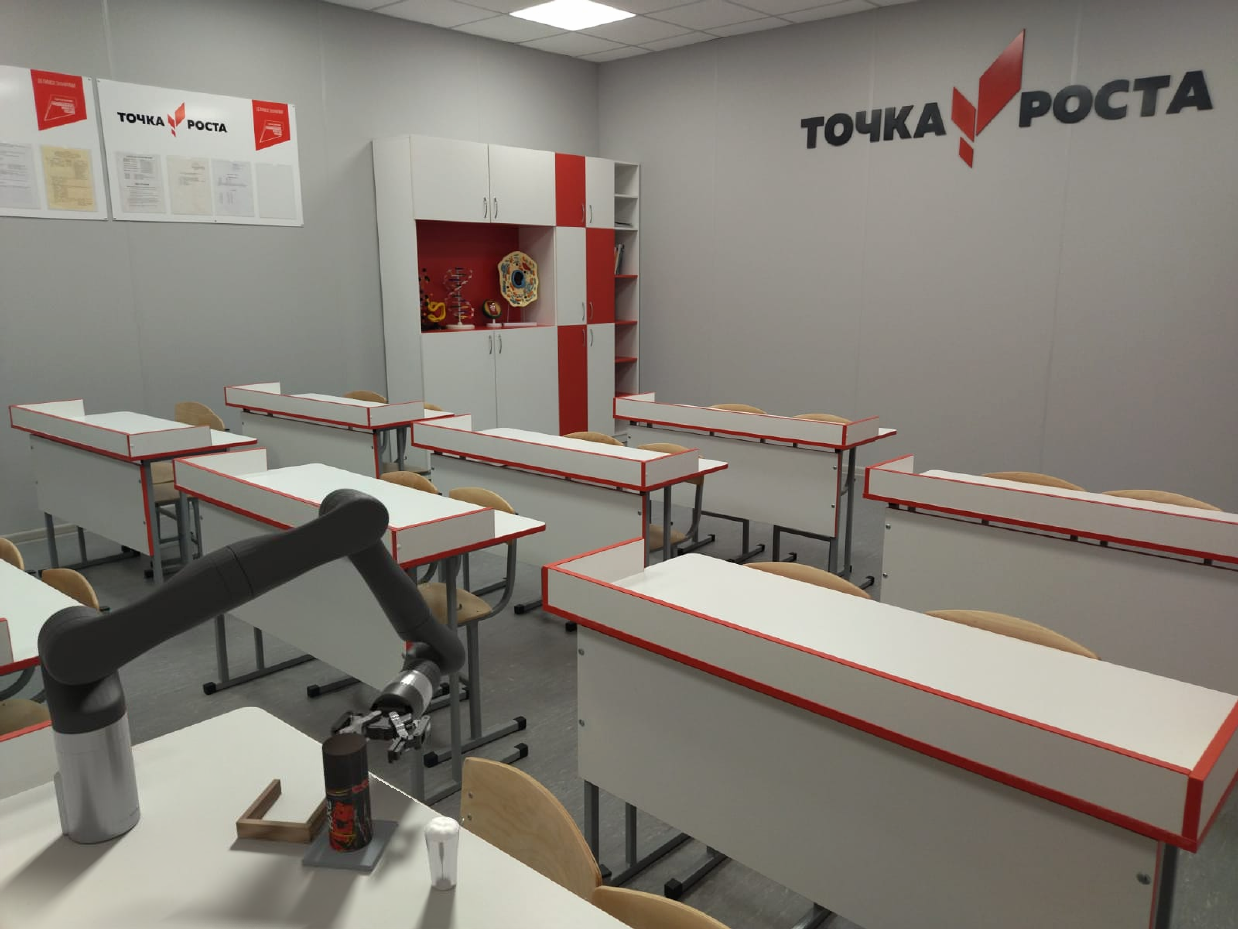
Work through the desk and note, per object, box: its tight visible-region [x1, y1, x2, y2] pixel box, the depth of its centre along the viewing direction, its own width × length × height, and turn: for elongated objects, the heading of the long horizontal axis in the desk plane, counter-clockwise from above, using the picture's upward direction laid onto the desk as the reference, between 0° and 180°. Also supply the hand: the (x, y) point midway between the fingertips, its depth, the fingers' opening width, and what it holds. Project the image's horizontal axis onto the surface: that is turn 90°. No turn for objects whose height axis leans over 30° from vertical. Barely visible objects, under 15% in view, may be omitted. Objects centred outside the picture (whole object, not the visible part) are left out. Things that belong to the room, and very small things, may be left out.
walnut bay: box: [235, 778, 328, 845], centre depth 131 cm, size 11×11×2 cm
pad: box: [301, 818, 399, 872], centre depth 125 cm, size 10×10×1 cm
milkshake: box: [423, 816, 465, 891], centre depth 117 cm, size 5×5×10 cm
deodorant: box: [321, 732, 373, 852], centre depth 124 cm, size 6×6×15 cm
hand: (362, 756), depth 128 cm, fingers open, 8 cm apart
